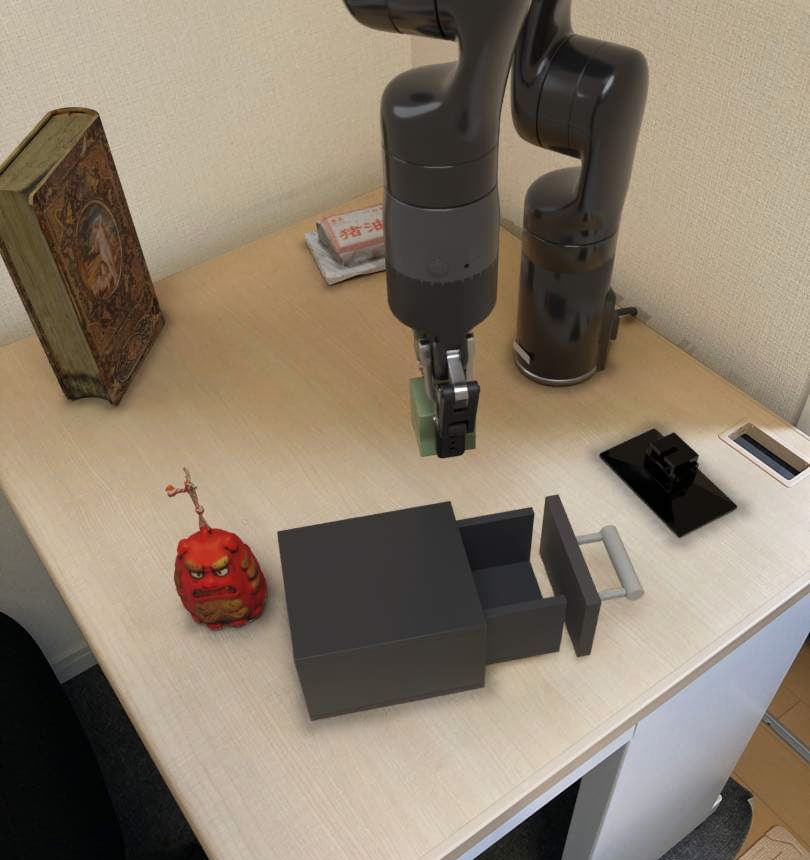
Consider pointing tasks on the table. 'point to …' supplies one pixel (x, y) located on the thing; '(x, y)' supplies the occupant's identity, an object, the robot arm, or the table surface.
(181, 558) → the red clay folk toy
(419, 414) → the block
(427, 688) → the cabinet
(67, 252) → the book
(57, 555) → the table surface
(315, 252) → the packaged product
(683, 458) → the build plate
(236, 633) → the table surface
